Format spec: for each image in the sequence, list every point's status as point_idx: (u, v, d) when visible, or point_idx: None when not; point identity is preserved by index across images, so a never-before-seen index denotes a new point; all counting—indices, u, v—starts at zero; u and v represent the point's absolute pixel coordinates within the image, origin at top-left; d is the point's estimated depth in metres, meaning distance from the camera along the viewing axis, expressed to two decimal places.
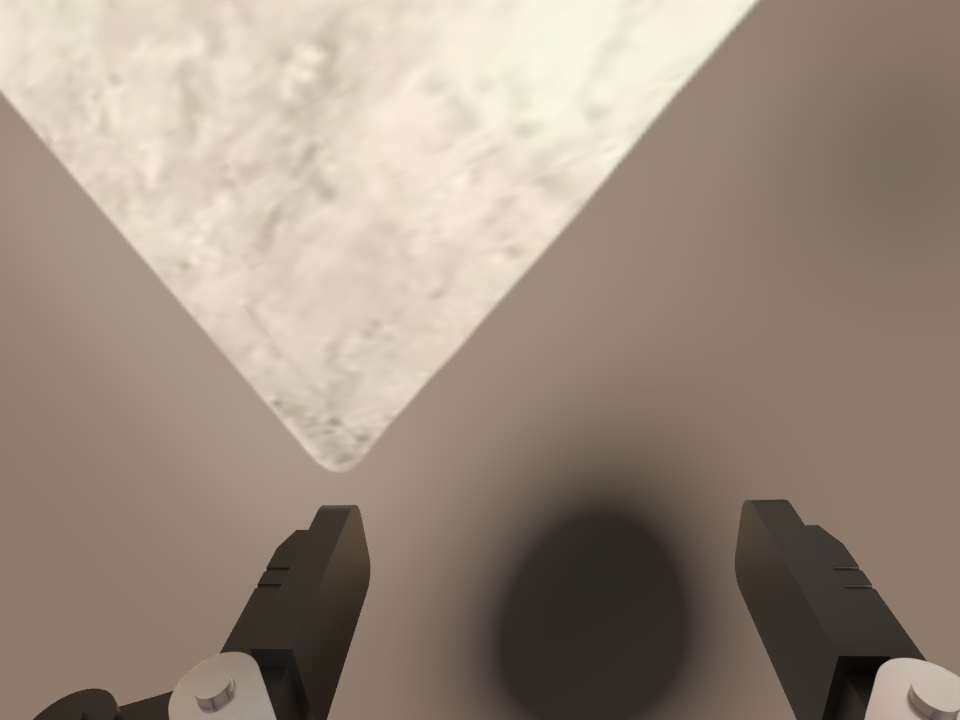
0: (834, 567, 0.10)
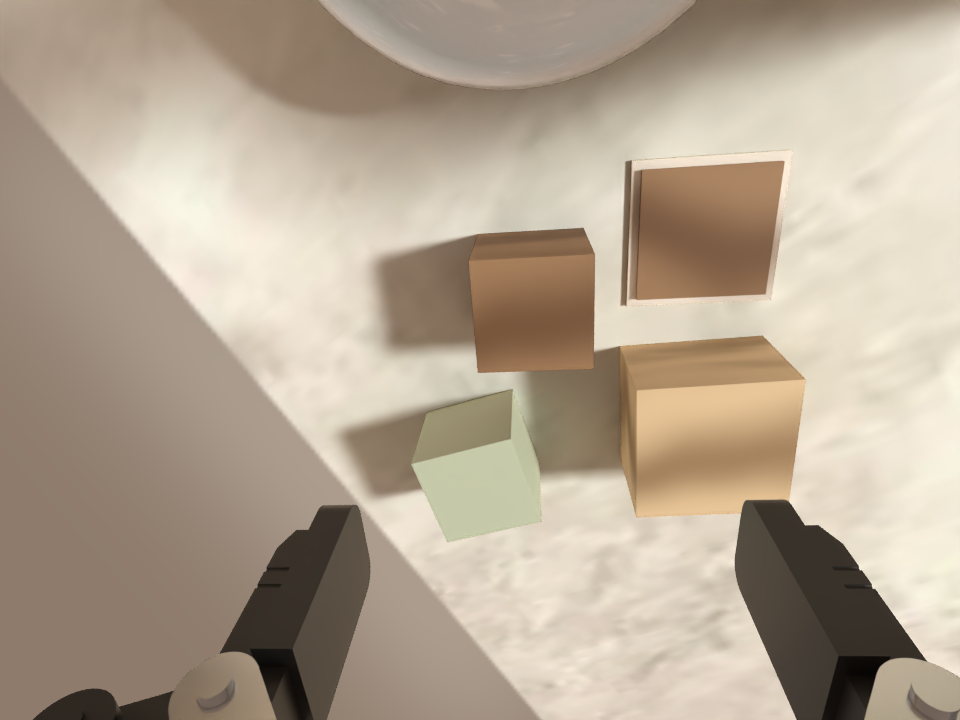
0: (834, 567, 0.10)
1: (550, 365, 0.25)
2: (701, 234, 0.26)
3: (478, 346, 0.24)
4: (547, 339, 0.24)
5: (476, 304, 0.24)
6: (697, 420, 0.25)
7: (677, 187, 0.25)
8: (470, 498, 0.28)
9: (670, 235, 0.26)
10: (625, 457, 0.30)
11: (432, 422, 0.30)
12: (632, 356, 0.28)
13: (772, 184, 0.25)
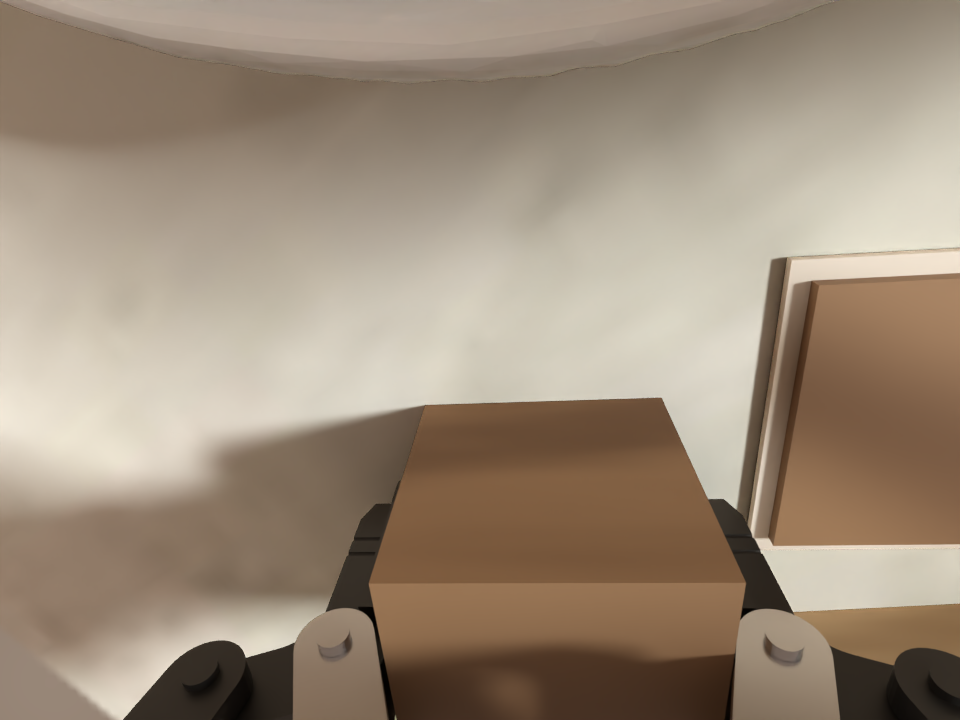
0: (730, 535, 0.11)
1: None
2: (943, 424, 0.11)
3: None
4: None
5: (399, 675, 0.09)
6: None
7: (902, 324, 0.10)
8: None
9: (868, 425, 0.11)
10: None
11: None
12: None
13: None
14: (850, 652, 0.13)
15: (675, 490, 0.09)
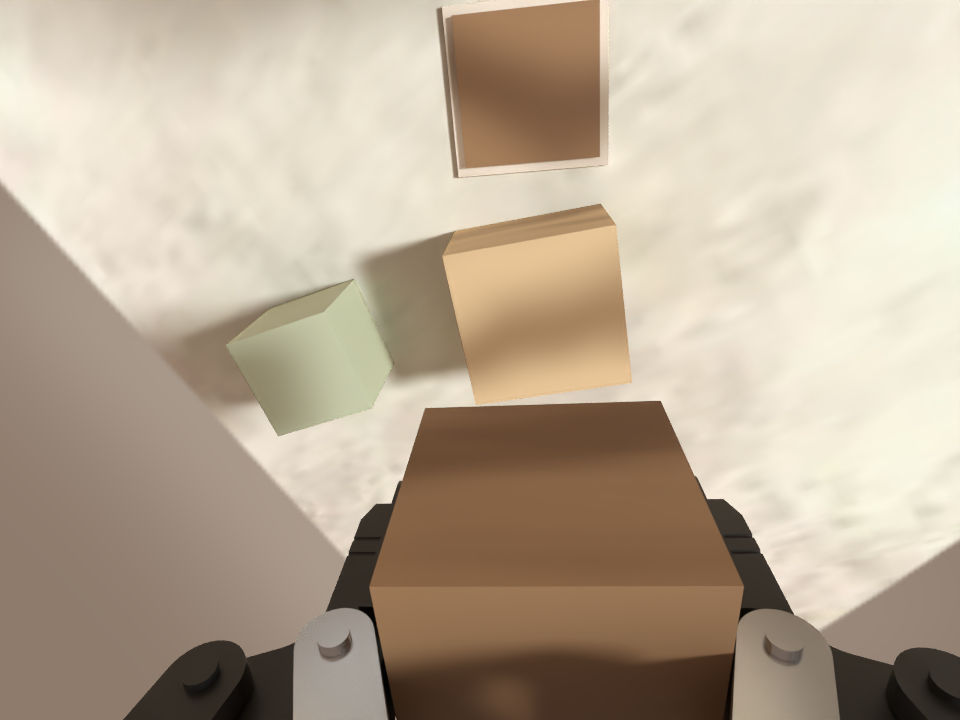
0: (730, 535, 0.11)
1: None
2: (523, 88, 0.24)
3: None
4: None
5: (399, 678, 0.09)
6: (513, 285, 0.24)
7: (490, 34, 0.24)
8: (294, 384, 0.26)
9: (491, 91, 0.25)
10: None
11: (268, 314, 0.29)
12: (460, 235, 0.26)
13: (590, 27, 0.23)
14: (506, 226, 0.26)
15: (674, 493, 0.09)
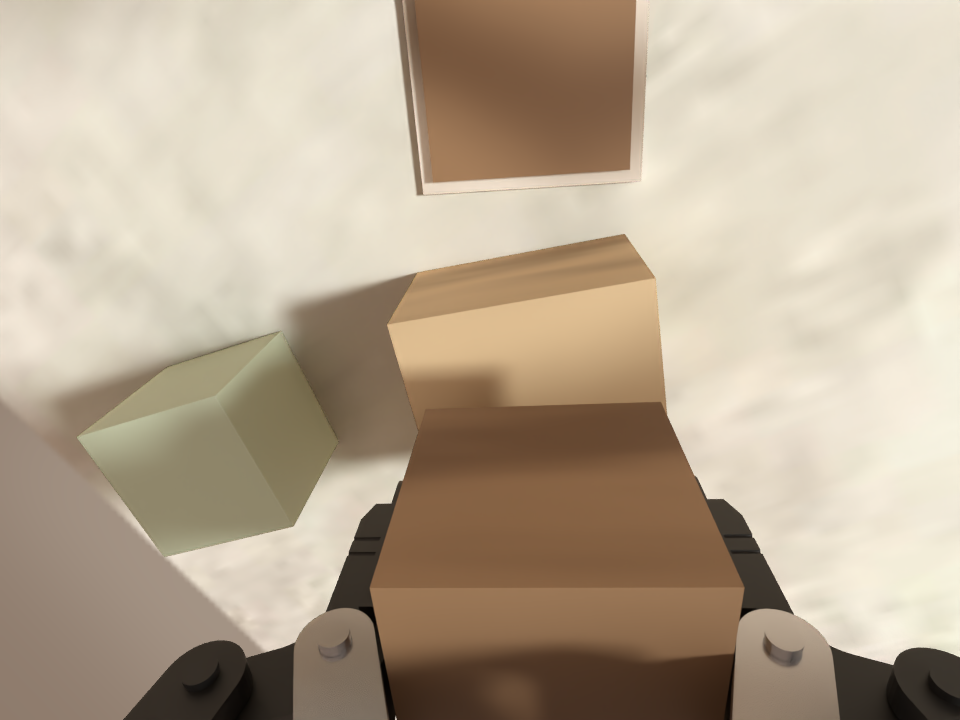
0: (730, 535, 0.11)
1: None
2: (518, 65, 0.16)
3: None
4: None
5: (399, 679, 0.09)
6: (496, 366, 0.16)
7: None
8: (180, 491, 0.18)
9: (470, 68, 0.16)
10: None
11: (158, 379, 0.21)
12: (422, 282, 0.18)
13: None
14: (488, 268, 0.18)
15: (674, 494, 0.09)
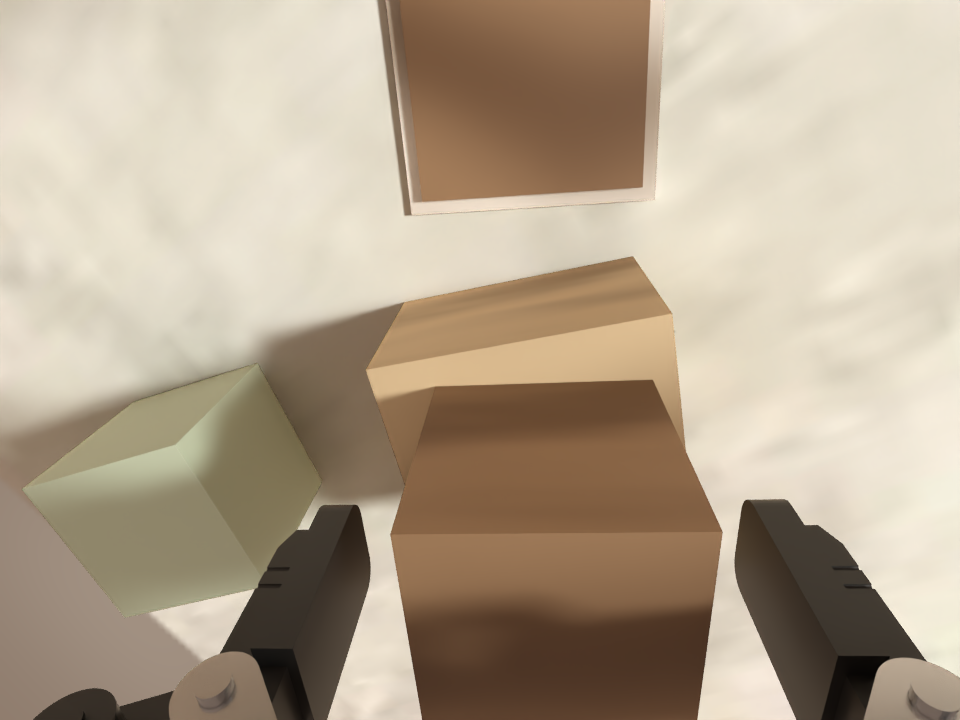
0: (834, 567, 0.10)
1: None
2: (517, 71, 0.14)
3: (425, 694, 0.10)
4: (588, 689, 0.10)
5: (415, 620, 0.10)
6: None
7: None
8: (140, 548, 0.16)
9: (462, 75, 0.14)
10: None
11: (121, 417, 0.19)
12: (408, 315, 0.16)
13: None
14: (481, 298, 0.16)
15: (663, 457, 0.10)
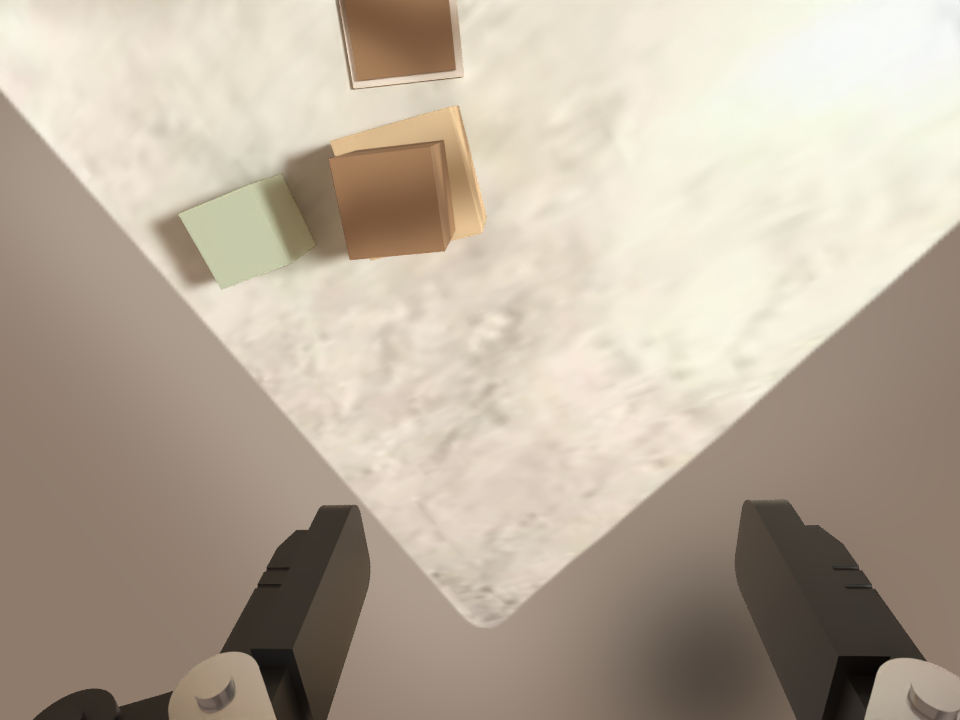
0: (834, 567, 0.10)
1: (408, 250, 0.29)
2: (394, 17, 0.33)
3: (347, 236, 0.29)
4: (403, 226, 0.29)
5: (340, 197, 0.28)
6: None
7: None
8: (230, 245, 0.35)
9: (371, 19, 0.33)
10: None
11: None
12: None
13: None
14: None
15: (427, 145, 0.29)
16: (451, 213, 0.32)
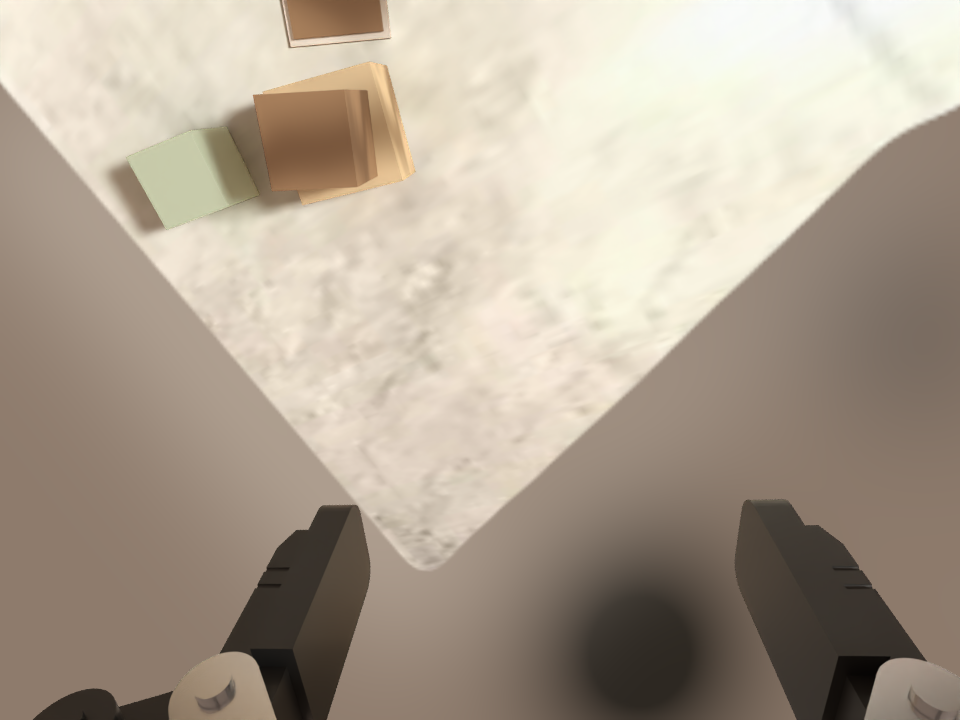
0: (834, 567, 0.10)
1: (325, 184, 0.32)
2: None
3: (269, 168, 0.32)
4: (319, 161, 0.32)
5: (263, 131, 0.31)
6: None
7: None
8: (174, 187, 0.38)
9: None
10: None
11: None
12: None
13: None
14: None
15: None
16: (372, 158, 0.36)
